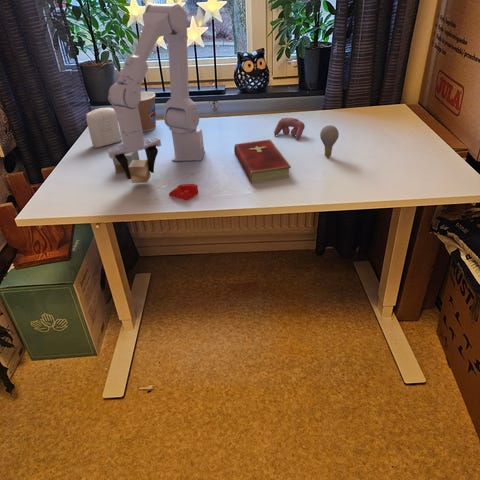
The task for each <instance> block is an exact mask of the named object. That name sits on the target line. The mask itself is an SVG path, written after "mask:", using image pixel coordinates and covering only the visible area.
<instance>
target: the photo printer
mask: <svg viewBox="0 0 480 480" xmlns="http://www.w3.org/2000/svg"><path fill="white" fill-rule="evenodd" d="M85 118H86V123H87V127H88V131H89V136H90V140H91V144H92V147H93V148H95V149H97V148H101V147H105V146H109V145H112V144H116V143H120V142H122V136H121V131H120V127H119V122H118V118H117V113H116V112H115V111H114V107H100V108H99V107H98V108H96V109H93V110H91V111H90V112H87V113H86V114H85Z"/></svg>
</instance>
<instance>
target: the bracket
mask: <svg viewBox="0 0 480 480" xmlns="http://www.w3.org/2000/svg"><path fill="white" fill-rule="evenodd" d="M198 194H199V188H198V185H197V184H196V183H187V184H179V185H178V186H176V187H175V188H174V189H172V190H171V191H170V192H169V193H168V195H169V196H170V197H172V198H176V199H179V200H181V201H185V202H188V201H190V200H191V199H192V198H194V197H196V196H197V195H198Z"/></svg>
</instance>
